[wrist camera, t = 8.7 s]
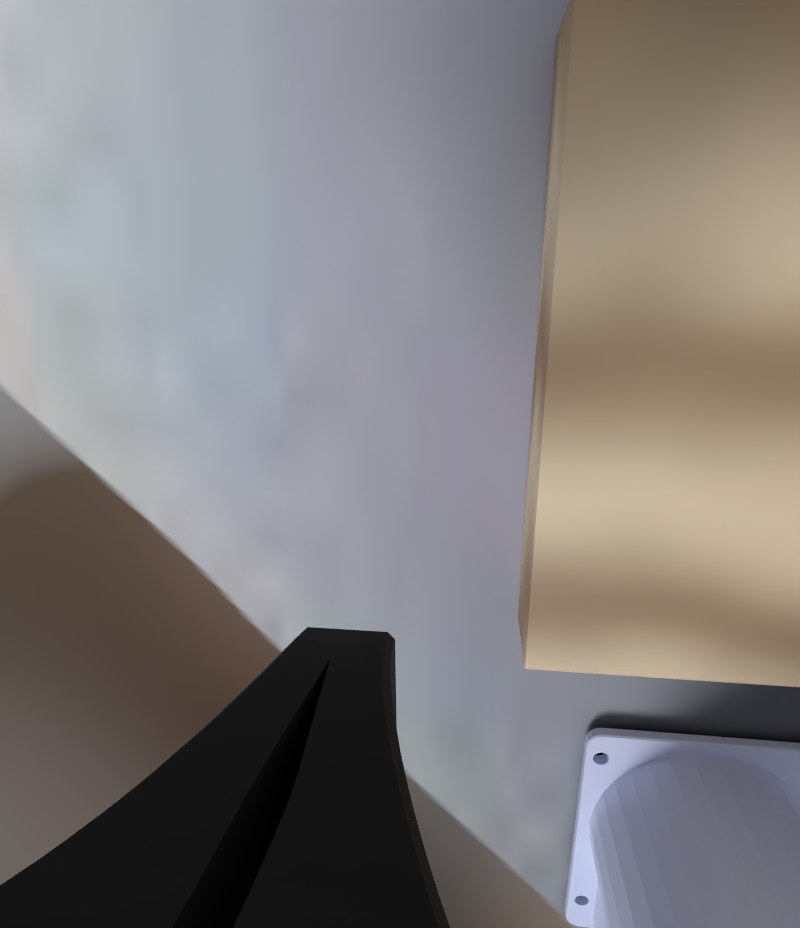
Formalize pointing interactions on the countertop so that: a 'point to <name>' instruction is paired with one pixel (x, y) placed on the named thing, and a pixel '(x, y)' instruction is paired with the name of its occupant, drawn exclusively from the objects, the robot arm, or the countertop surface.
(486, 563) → the countertop surface
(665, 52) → the board
